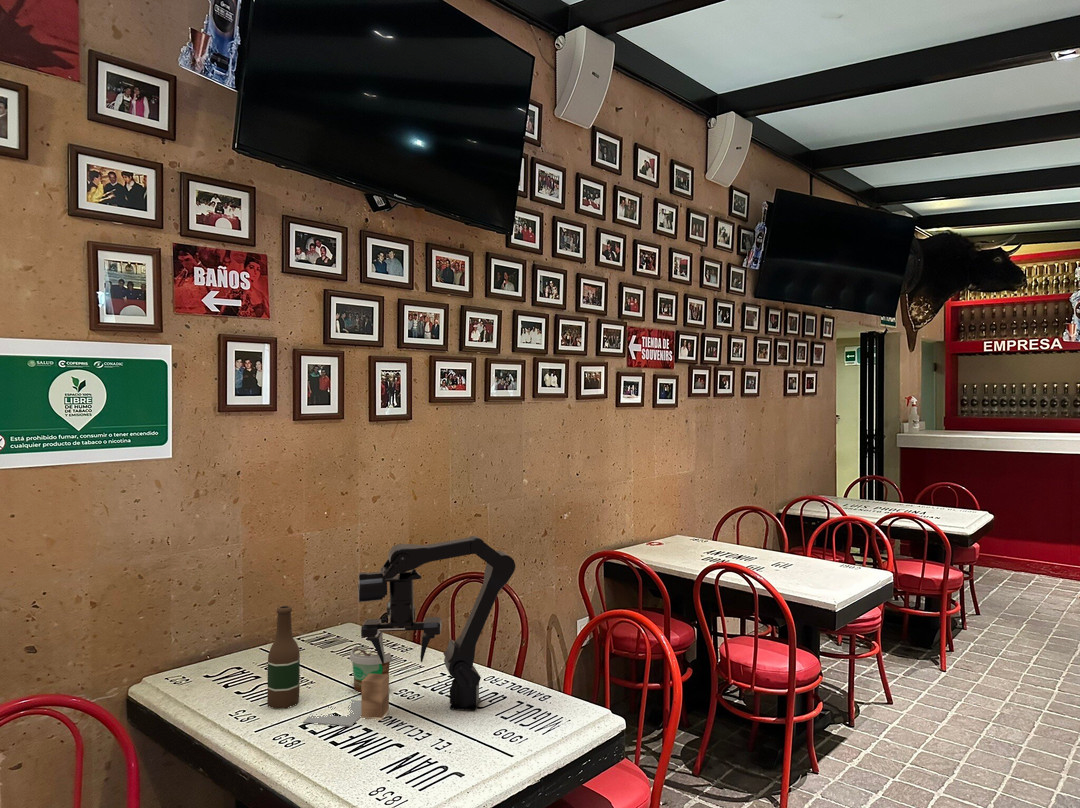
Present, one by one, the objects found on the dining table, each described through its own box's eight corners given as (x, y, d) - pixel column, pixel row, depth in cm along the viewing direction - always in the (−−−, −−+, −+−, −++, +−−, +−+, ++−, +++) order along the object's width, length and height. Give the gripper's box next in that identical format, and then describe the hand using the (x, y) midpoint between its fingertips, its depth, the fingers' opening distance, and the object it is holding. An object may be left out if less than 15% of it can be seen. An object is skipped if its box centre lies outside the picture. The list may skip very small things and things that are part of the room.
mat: (373, 702, 183) (373, 701, 183) (351, 726, 169) (351, 725, 169) (328, 699, 185) (328, 698, 185) (302, 723, 171) (302, 721, 171)
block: (388, 711, 178) (389, 674, 178) (381, 720, 173) (381, 682, 173) (369, 710, 179) (369, 673, 179) (361, 718, 174) (361, 680, 174)
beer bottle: (289, 711, 178) (290, 612, 178) (260, 708, 179) (261, 610, 179) (305, 698, 185) (306, 603, 185) (278, 695, 187) (278, 601, 187)
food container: (339, 690, 191) (339, 651, 191) (355, 682, 196) (355, 645, 196) (376, 699, 185) (376, 659, 185) (391, 691, 191) (392, 652, 191)
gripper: (442, 588, 186) (443, 649, 186) (368, 590, 184) (369, 652, 185) (439, 600, 175) (440, 665, 175) (360, 602, 173) (361, 668, 173)
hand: (402, 662), depth 177 cm, fingers open, 9 cm apart
